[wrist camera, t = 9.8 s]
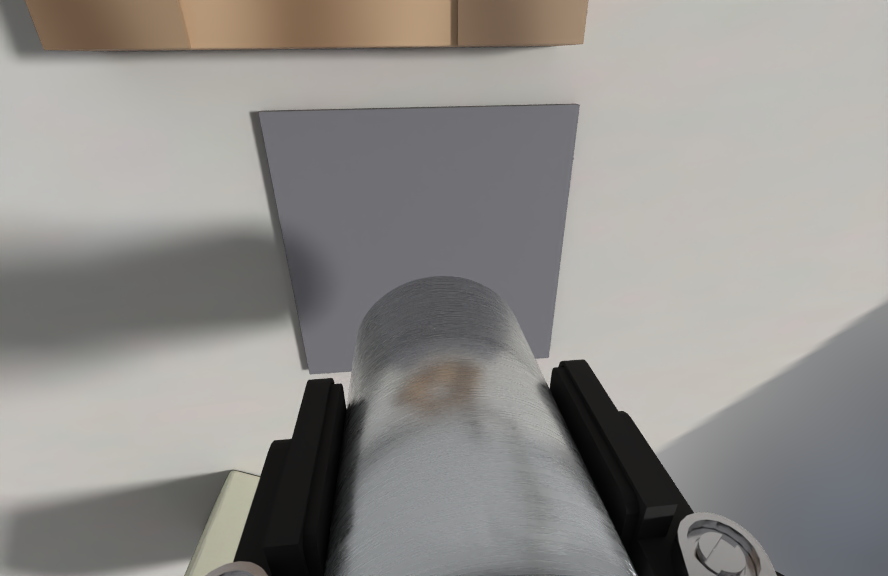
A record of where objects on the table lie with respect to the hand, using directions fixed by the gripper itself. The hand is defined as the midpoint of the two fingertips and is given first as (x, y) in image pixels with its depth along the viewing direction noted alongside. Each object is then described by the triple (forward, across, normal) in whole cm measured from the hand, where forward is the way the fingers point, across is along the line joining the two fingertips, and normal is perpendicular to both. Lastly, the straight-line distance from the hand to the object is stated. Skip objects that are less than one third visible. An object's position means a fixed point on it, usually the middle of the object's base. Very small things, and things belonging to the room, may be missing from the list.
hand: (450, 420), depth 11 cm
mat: (+10, 0, 0) cm, 10 cm away
